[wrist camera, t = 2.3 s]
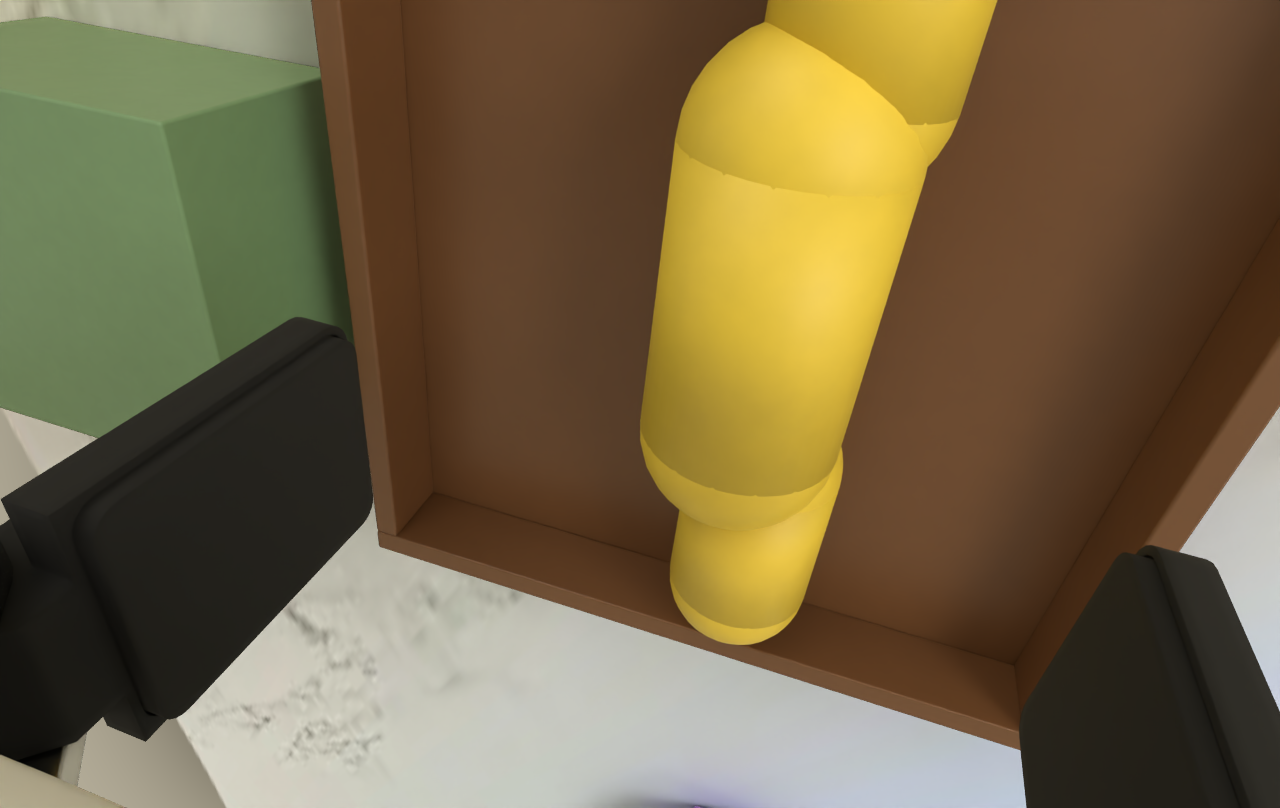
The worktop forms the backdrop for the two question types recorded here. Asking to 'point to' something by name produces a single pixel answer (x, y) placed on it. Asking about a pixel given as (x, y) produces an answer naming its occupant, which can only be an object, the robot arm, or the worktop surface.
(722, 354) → the yellow stacked capsules
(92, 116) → the block
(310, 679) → the worktop surface
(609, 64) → the tray
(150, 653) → the robot arm
